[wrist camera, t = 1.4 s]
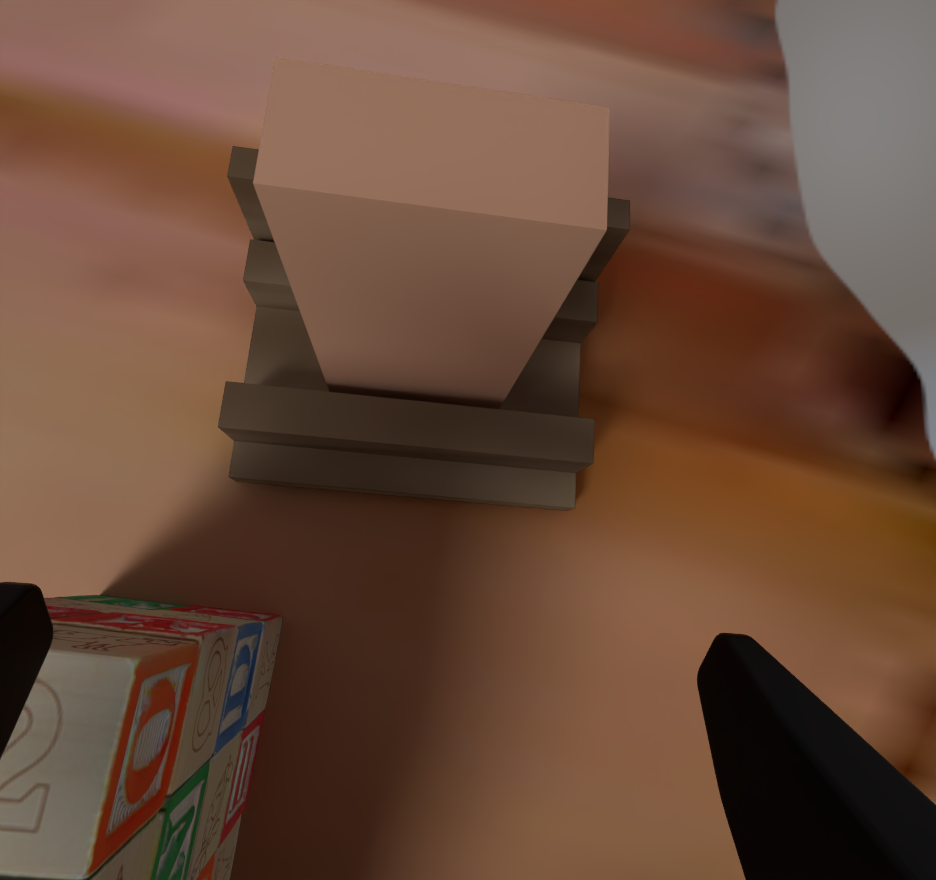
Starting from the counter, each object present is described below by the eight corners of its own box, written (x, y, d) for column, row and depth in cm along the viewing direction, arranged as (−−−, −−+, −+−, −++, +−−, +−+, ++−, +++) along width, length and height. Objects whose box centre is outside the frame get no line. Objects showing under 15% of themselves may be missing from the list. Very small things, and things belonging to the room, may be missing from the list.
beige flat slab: (497, 411, 22) (606, 229, 11) (330, 394, 22) (252, 183, 10) (501, 347, 23) (609, 107, 11) (338, 328, 22) (275, 57, 11)
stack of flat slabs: (567, 510, 23) (625, 488, 17) (236, 481, 22) (177, 446, 16) (575, 289, 25) (630, 200, 19) (272, 251, 24) (232, 146, 18)
